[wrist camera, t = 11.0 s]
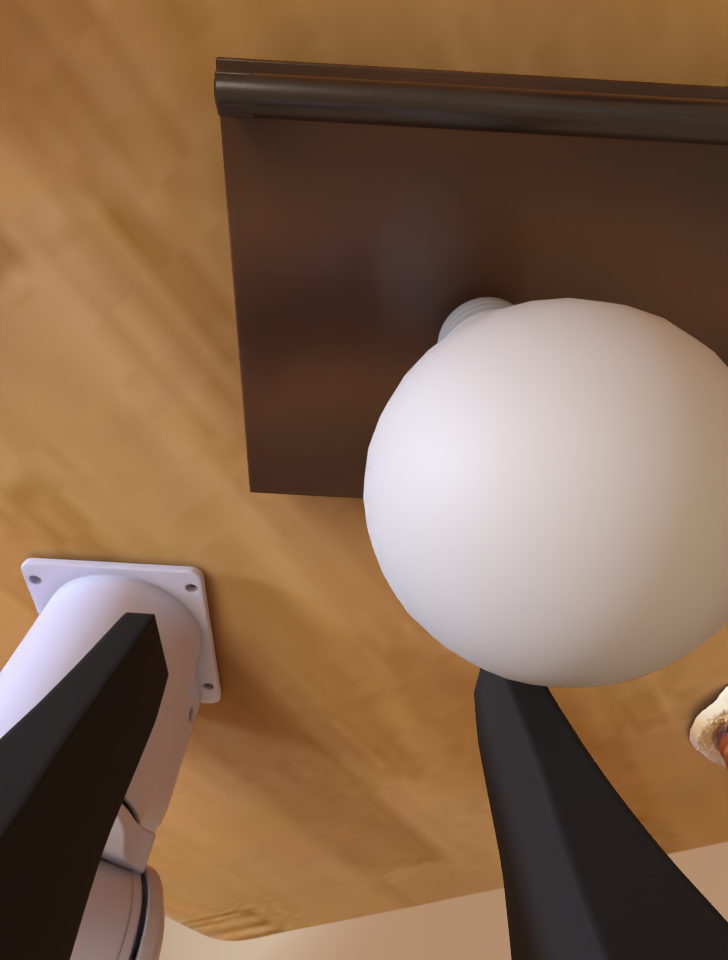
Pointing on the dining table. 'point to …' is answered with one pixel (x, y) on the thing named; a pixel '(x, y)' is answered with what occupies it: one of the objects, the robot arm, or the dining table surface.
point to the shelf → (445, 229)
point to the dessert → (712, 731)
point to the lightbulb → (557, 491)
